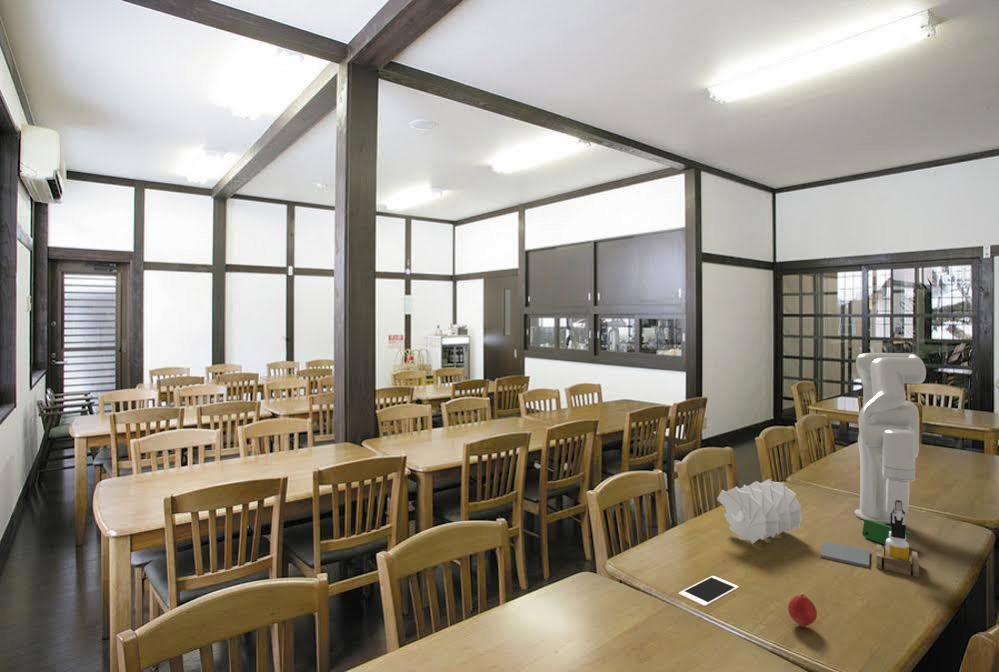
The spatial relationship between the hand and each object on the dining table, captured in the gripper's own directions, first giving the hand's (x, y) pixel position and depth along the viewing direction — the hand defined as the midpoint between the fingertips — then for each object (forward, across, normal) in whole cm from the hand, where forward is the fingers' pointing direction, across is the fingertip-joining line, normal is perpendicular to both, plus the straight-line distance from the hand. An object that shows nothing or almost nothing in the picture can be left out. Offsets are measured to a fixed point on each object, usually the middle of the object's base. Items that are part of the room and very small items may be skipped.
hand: (897, 532), depth 154 cm
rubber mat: (+10, -1, -13) cm, 16 cm away
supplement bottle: (+10, -1, 0) cm, 10 cm away
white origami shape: (+10, -3, -36) cm, 38 cm away
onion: (+11, +49, -19) cm, 54 cm away
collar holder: (+10, -1, 0) cm, 10 cm away
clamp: (+10, -20, -2) cm, 22 cm away
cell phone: (+12, +44, -41) cm, 61 cm away
